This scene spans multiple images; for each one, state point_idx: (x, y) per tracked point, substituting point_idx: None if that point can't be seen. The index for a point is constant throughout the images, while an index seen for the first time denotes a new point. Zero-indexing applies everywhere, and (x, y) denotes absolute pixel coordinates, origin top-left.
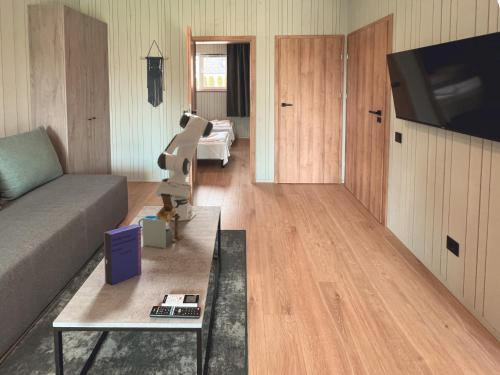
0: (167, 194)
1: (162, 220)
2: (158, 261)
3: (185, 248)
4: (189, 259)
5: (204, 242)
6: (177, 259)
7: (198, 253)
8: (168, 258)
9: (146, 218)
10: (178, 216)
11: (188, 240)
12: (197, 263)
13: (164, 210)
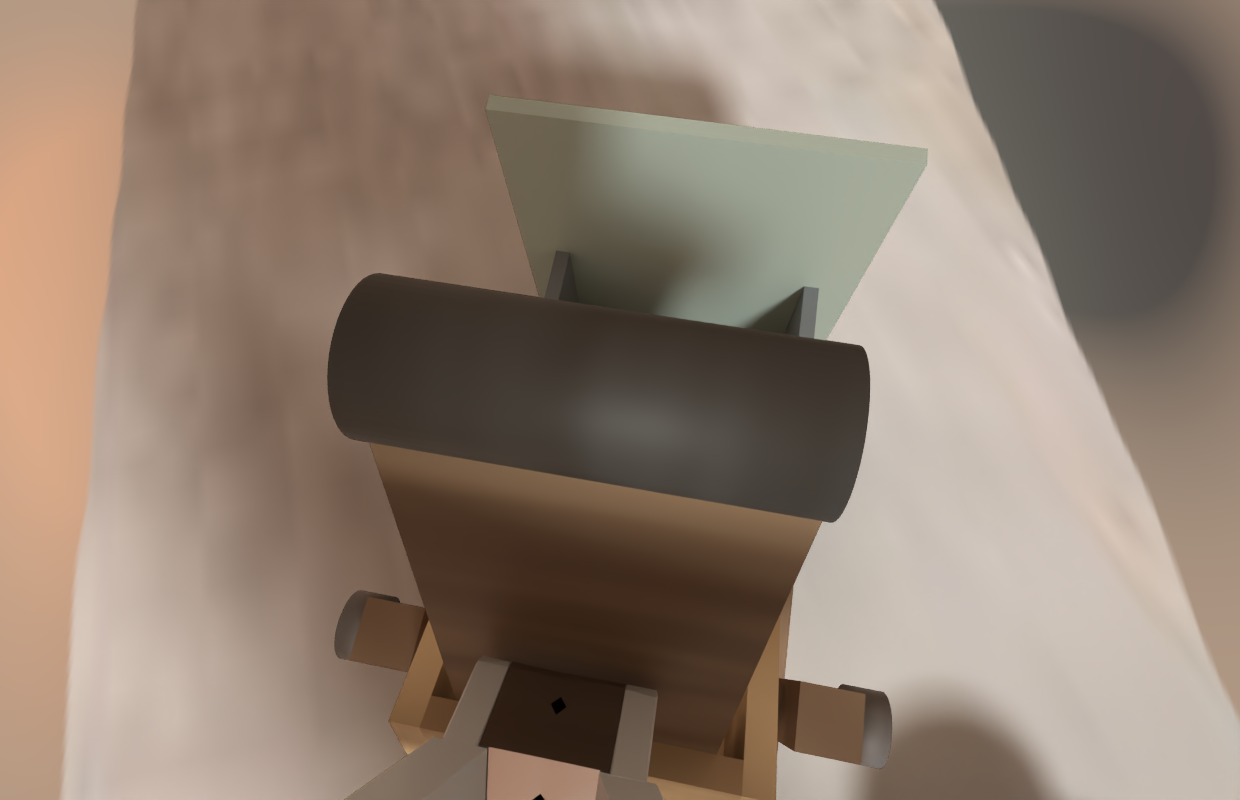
0: (461, 287)
1: (542, 107)
2: (522, 48)
3: None
4: (280, 133)
5: (152, 634)
6: (380, 113)
7: (210, 277)
8: (459, 116)
9: (852, 145)
10: (357, 597)
11: (356, 666)
12: (209, 76)
13: (725, 752)
